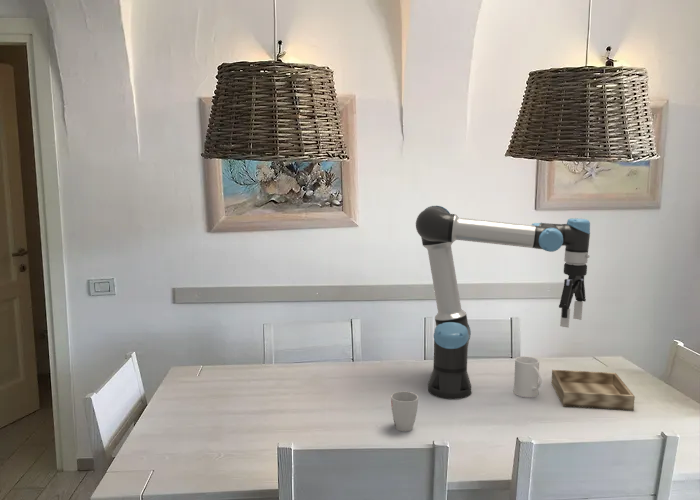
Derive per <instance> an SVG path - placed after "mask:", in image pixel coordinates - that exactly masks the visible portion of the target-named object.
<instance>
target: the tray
mask: <svg viewBox="0 0 700 500" xmlns="http://www.w3.org/2000/svg"><path fill="white" fill-rule="evenodd" d="M550 382H551V385H552V387H553V389H554V391H555V393H556V396H557V397H558V399H559V401H560V403H561V405H562V407H565V408H578V409H596V410H597V409H598V410H610V411H613V410H615V411H627V412H628V411H629V412H633V411H635V410H634V409H635V398H636V397H635V395H634V393H633V392H632V391H631V390H630V389H629V387H628V386H627V385H626V384H625V382H624V381H623V380H622V378H620V376H619V375H618V374H617V373H616V372H608V371H607V372H606V371H605V372H604V371H603V372H602V371H587V370H586V371H585V370H567V369H566V370H564V369H563V370H562V369H551V381H550Z"/></svg>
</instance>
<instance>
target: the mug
mask: <svg viewBox="0 0 700 500" xmlns="http://www.w3.org/2000/svg"><path fill="white" fill-rule="evenodd" d="M513 376H514V378H513V390H512V393H513V394H514V395H516V396H518V397H521V398H530V399H531V398H535V397H537V396H539V389H540V388H541V386H542V375H541V373H540V360H539V359H537V358H535V357H532V356H525V355H524V356H517V357H515V360H514V375H513Z"/></svg>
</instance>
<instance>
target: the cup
mask: <svg viewBox="0 0 700 500" xmlns="http://www.w3.org/2000/svg"><path fill="white" fill-rule="evenodd" d="M390 402H391V413H392V420H393V423H394V426H395V429H396V430H397V431H399V432H410V431H412V430H413V428H414V425H415V422H416V419H417V418H416V416H417V414H418V413H417V412H418V404H419V395H418V394H416V393H414V392H412V391H411V392H410V391H405V390H404V391H403V390H401V391H397V392H393V393H392V394H391V396H390Z"/></svg>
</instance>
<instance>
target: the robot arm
mask: <svg viewBox="0 0 700 500" xmlns="http://www.w3.org/2000/svg"><path fill="white" fill-rule="evenodd" d="M415 229H416V232H417V234H418V235H419V236H420V238H421V244H422V247H424V248H426V249H427V255H428V260H429V266H430V272H431V278H432V285H433V291H434V297H435V301H436V308H437V313H436V315H435V316H434V320H435V328H434V332H433V366H432V367H433V368H432V372H431V375H430V377H429V381H428V383H427V392H428V393H430V395H432V396H434V397H437V398H440V399H445V400H459V399H465V398H468V397H469V396H471V395H472V383H471V380H470V376H469V374H468V351H469V350H468V349H469V343H470V340H471V332H472V331H471V327H470V325H469V322H468V317H467V312H466V311H464V310H463V309H462V304H461V299H460V294H459V286H458V281H457V280H458V279H457V274H456V270H455V262H454V257H453V251H452V244H453V243H454V242H455V241H463V242H464V241H465V242H473V243H482V244H491V245H493V244H494V245H502V246H510V247H519V248H531V249H536V250H543V251H545V252H551V253H553V252H556V251H558V250H560V248H561V247H563V246H564V247H565V249H564V260H563V261H564V263H563V274H564V275H566V276H568V278H565V279H564V281H563V282H564V284H563V288H562V292H561V293H562V294H561V297H560V301H559V304H558V308H560V309H561V312H560V324H559V326H560V327H562V328H567V329H568V328H570V320H571V319H570V318H571V308H570V307H571V304H572V300H573V298H575V300H574V304H573V316H572V317H573V318H572V319H574V320H579V321H581V320H582V319H583V318H582V317H583V308H584V307H583V304H584V302H586V288H585V277H586V276H587V273H588V272H587V271H588V265H587V264H588V260H589V258H590V255H589V248H590V247H589V246H590V237H591V222H590V220H589V219H586V218H576V217H575V218H568V219H567V221H566V223H546V222H534V223H532V224H523V223H513V222H504V221H502V222H501V221H496V220H494V221H493V220H485V219H484V220H483V219H475V218H474V219H473V218H464V217H459V216H458V215H457V214H455V213H454V214H453V213H451V212H450V211H449V210H448V209H447V208H445V207H443V206H442V205H431V206H427V207H426V208H425V209H424V210H422V211H421V212H420V213H418V215H417V217H416V220H415Z"/></svg>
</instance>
